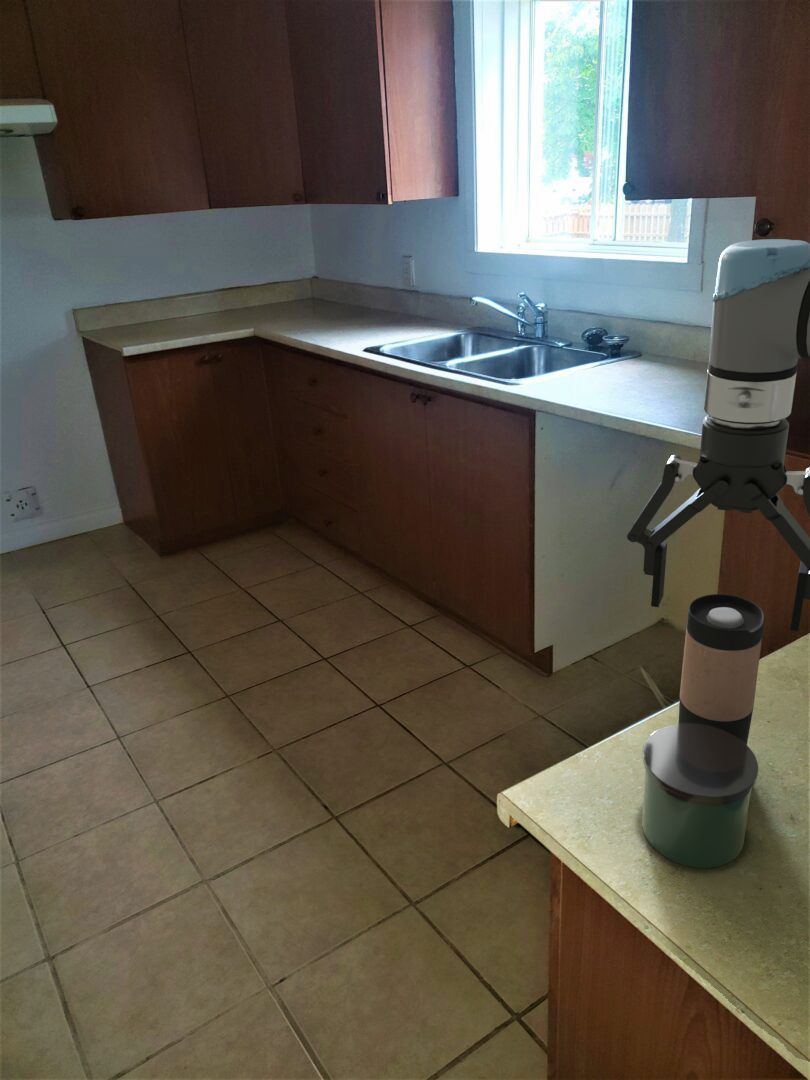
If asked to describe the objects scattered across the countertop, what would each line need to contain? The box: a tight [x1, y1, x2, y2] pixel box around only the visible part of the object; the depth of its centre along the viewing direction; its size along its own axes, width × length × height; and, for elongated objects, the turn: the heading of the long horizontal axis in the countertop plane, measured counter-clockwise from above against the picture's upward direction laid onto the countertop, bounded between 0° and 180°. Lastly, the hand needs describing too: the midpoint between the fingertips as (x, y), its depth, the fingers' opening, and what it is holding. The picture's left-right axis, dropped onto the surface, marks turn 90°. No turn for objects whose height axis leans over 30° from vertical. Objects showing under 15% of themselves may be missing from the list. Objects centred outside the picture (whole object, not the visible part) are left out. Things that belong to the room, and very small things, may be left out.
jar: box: [641, 723, 759, 869], centre depth 83 cm, size 11×11×10 cm
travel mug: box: [677, 593, 765, 746], centre depth 89 cm, size 8×8×20 cm
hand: (723, 612), depth 85 cm, fingers open, 13 cm apart
